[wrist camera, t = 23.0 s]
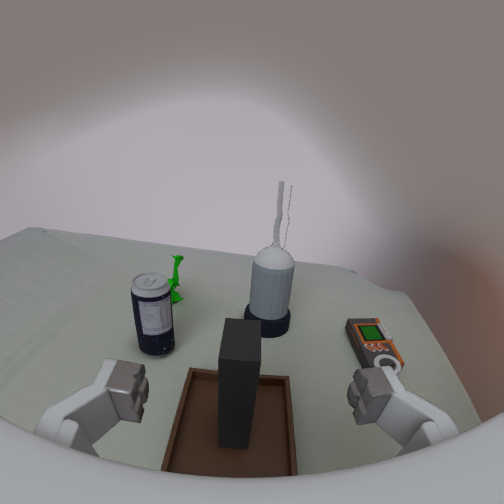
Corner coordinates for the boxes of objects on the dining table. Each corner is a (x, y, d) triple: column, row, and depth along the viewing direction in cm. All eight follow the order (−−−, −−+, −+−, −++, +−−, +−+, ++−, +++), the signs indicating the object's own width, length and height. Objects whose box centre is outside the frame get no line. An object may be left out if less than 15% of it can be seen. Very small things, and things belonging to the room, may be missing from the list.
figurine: (199, 290, 59) (195, 252, 54) (167, 326, 49) (158, 286, 45) (175, 282, 61) (169, 245, 56) (142, 316, 51) (131, 277, 47)
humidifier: (261, 307, 56) (275, 177, 47) (297, 323, 51) (319, 185, 42) (233, 323, 50) (243, 178, 41) (271, 344, 45) (291, 187, 36)
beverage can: (180, 342, 43) (176, 274, 39) (166, 364, 38) (159, 293, 34) (149, 334, 44) (142, 268, 40) (133, 354, 39) (122, 285, 35)
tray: (294, 498, 20) (298, 491, 19) (162, 486, 20) (158, 478, 19) (286, 387, 36) (288, 375, 35) (190, 378, 36) (189, 367, 35)
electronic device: (376, 375, 35) (347, 315, 49) (369, 388, 36) (343, 328, 50) (412, 370, 35) (379, 315, 49) (405, 383, 36) (375, 328, 50)
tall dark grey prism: (218, 447, 25) (218, 357, 20) (223, 408, 31) (225, 316, 26) (248, 449, 25) (261, 361, 20) (249, 411, 31) (260, 318, 26)
